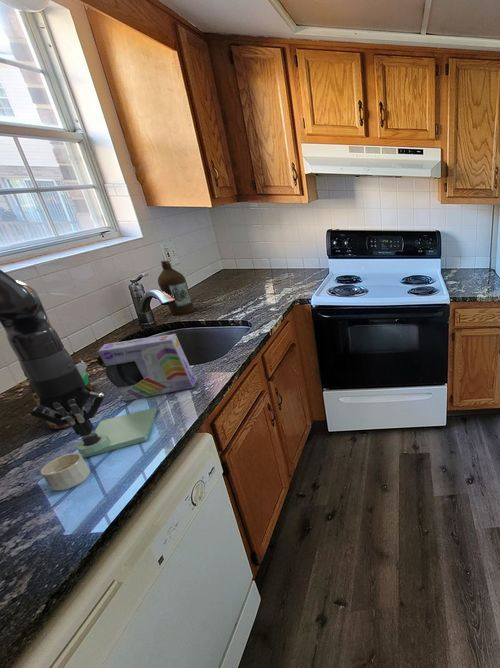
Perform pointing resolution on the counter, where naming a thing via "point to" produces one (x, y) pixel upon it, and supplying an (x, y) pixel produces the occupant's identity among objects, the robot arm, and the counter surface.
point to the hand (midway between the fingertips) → (86, 433)
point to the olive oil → (175, 289)
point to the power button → (90, 439)
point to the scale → (120, 432)
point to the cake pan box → (147, 366)
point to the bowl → (65, 471)
